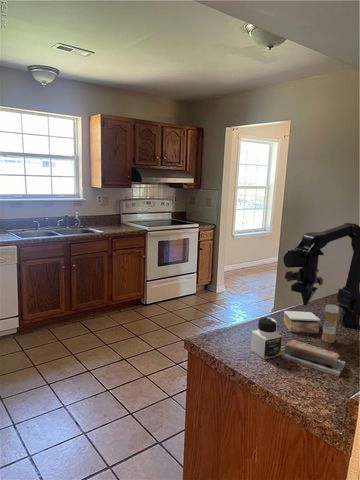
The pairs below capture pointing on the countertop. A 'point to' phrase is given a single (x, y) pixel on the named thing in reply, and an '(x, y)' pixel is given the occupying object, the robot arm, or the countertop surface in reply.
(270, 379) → the countertop surface
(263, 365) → the countertop surface
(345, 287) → the robot arm
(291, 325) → the box
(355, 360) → the countertop surface
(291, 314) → the lid
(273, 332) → the medicine bottle
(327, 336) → the sprinkles bottle
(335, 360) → the packaged product
